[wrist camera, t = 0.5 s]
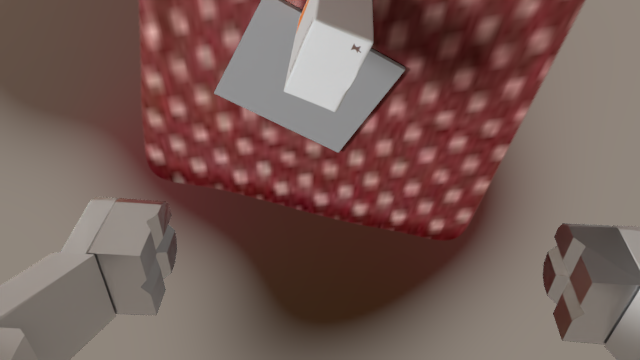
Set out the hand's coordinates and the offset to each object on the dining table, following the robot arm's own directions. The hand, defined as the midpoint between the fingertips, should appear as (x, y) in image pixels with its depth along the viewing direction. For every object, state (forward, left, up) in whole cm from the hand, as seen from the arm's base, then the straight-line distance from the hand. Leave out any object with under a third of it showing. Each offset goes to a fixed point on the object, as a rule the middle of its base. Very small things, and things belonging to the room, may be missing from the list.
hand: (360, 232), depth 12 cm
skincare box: (+12, +3, -35) cm, 37 cm away
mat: (+21, +5, -35) cm, 41 cm away
